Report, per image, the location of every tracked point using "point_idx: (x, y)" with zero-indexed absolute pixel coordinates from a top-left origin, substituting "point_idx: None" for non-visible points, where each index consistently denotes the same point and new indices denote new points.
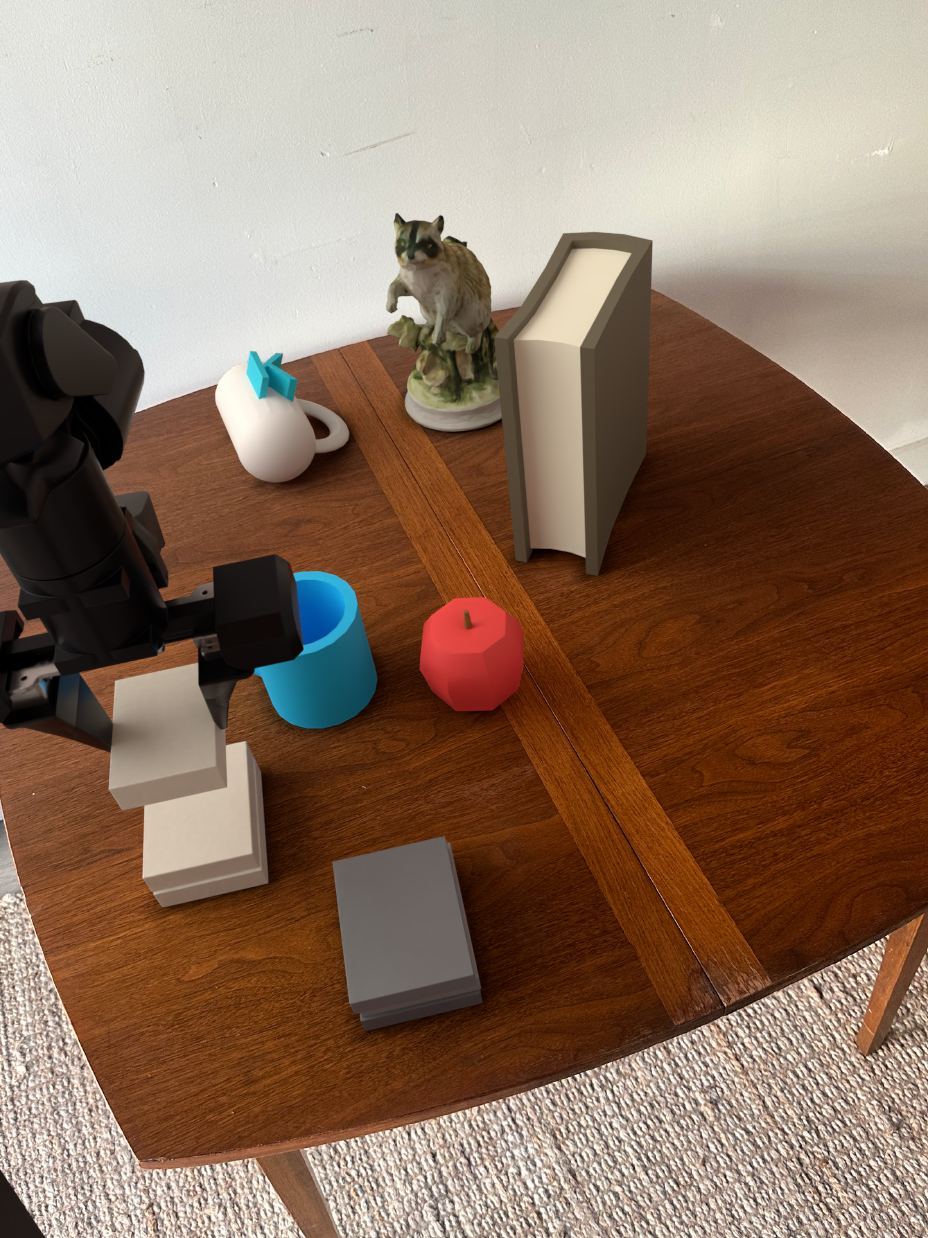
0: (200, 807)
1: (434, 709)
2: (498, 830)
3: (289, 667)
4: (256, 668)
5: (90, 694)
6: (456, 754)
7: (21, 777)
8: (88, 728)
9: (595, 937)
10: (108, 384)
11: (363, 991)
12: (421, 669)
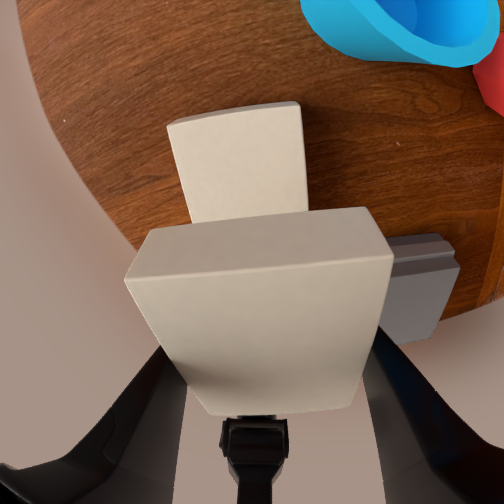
0: (249, 193)
1: (463, 80)
2: (470, 209)
3: (400, 54)
4: None
5: (141, 435)
6: (469, 135)
7: (49, 105)
8: (173, 452)
9: (475, 277)
10: None
11: None
12: (495, 80)
